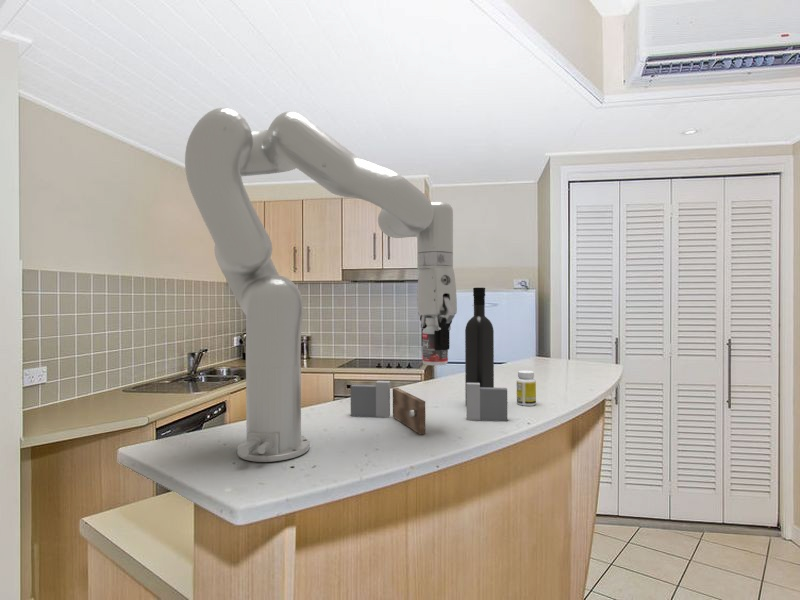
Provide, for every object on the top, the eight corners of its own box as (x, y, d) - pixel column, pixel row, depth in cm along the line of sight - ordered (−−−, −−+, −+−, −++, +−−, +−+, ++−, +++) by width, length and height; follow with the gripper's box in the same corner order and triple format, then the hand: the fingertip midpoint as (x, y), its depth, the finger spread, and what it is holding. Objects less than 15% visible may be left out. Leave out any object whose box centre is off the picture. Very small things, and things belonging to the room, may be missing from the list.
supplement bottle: (538, 403, 117) (538, 371, 117) (533, 407, 113) (532, 373, 113) (519, 401, 120) (519, 369, 120) (514, 404, 116) (514, 372, 116)
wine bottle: (478, 402, 118) (478, 288, 118) (495, 406, 114) (495, 287, 114) (463, 406, 115) (463, 287, 115) (480, 410, 110) (480, 287, 110)
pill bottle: (417, 364, 95) (417, 317, 95) (429, 361, 99) (429, 317, 99) (440, 366, 92) (440, 318, 92) (452, 363, 96) (452, 317, 96)
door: (387, 416, 104) (387, 388, 104) (397, 415, 105) (397, 387, 105) (414, 435, 90) (414, 402, 90) (425, 433, 91) (425, 401, 91)
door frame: (507, 421, 101) (507, 385, 101) (350, 416, 105) (350, 381, 105) (506, 418, 103) (506, 383, 103) (352, 413, 107) (352, 380, 107)
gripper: (471, 259, 89) (471, 352, 89) (432, 265, 105) (433, 344, 105) (437, 258, 86) (437, 353, 86) (403, 264, 102) (403, 345, 102)
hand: (435, 347), depth 95 cm, fingers closed on pill bottle, 5 cm apart
